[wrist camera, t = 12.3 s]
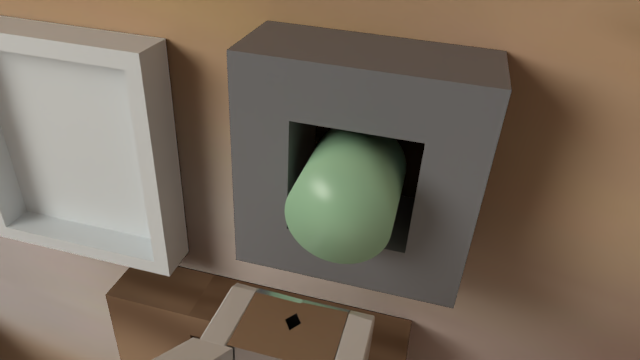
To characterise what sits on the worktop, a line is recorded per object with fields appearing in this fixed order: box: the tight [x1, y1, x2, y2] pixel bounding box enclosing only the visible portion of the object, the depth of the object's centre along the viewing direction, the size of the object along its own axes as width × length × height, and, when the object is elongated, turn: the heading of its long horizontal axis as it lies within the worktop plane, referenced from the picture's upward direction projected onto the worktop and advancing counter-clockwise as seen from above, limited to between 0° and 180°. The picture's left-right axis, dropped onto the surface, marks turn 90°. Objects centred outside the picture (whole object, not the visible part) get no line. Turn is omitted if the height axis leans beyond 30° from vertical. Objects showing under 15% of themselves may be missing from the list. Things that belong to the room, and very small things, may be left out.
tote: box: [0, 15, 189, 277], centre depth 19 cm, size 9×8×2 cm
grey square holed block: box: [227, 21, 512, 308], centre depth 16 cm, size 7×7×3 cm
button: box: [285, 128, 407, 264], centre depth 14 cm, size 3×3×3 cm
